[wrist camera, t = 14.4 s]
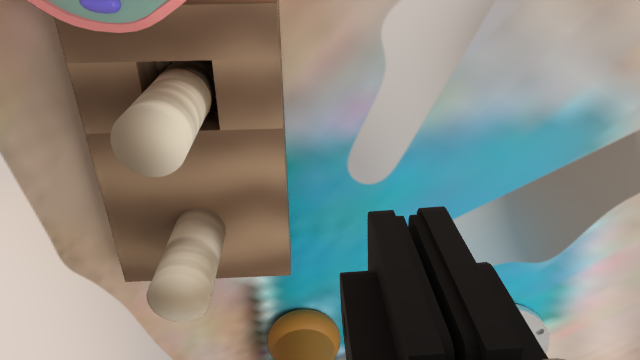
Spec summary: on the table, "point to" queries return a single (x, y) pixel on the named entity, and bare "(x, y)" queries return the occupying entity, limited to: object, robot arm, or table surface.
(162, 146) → the birch leg
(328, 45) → the table surface
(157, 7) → the cell model
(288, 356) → the ornamental finial
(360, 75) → the table surface
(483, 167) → the table surface
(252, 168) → the brown block with hole
